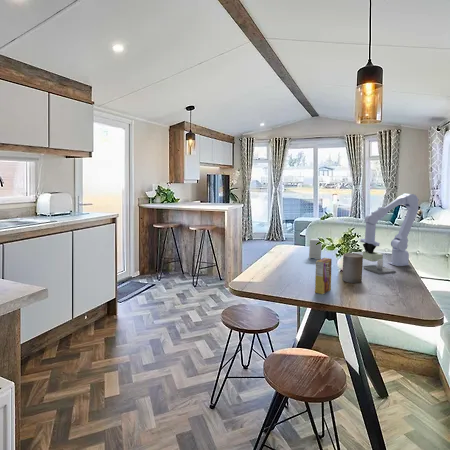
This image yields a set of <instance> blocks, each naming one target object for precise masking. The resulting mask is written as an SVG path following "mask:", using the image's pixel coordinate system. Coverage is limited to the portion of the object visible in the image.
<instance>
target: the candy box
mask: <svg viewBox="0 0 450 450" xmlns="http://www.w3.org/2000/svg"><path fill="white" fill-rule="evenodd" d="M332 261H333V260H332V258H330V257H329V258H328V257H323V258H322V257H321V259H316V260H315V277H314V278H315V279H314V281H315V284H314V285H315V288H314V293H315V294H319V295H324V294H326V293H328V292H330V291H331V290H332V265H333V264H332Z"/></svg>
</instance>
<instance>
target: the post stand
mask: <svg viewBox="0 0 450 450" xmlns="http://www.w3.org/2000/svg"><path fill="white" fill-rule="evenodd" d="M376 262H377V264H376V266H366V267H365V266H364V267H363V270H366V271H369V272H372V273H374V274H377V275H382V274H383V275H384V274H395V273H397V271H396V270H395V269H391V268H388V267H385V266H383V264H384V263H383V262H384V260H383V259H378V261H376Z"/></svg>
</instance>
